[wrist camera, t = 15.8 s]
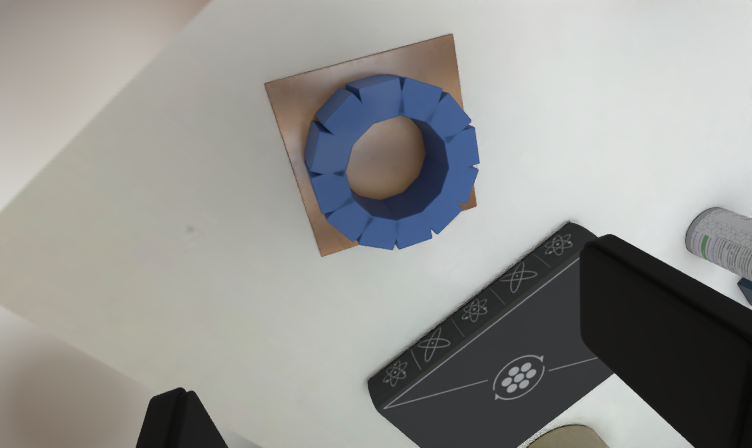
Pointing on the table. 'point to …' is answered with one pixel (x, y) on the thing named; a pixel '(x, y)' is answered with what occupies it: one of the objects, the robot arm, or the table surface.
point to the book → (498, 358)
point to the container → (723, 240)
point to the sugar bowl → (570, 438)
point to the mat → (380, 142)
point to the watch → (746, 289)
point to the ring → (437, 176)
